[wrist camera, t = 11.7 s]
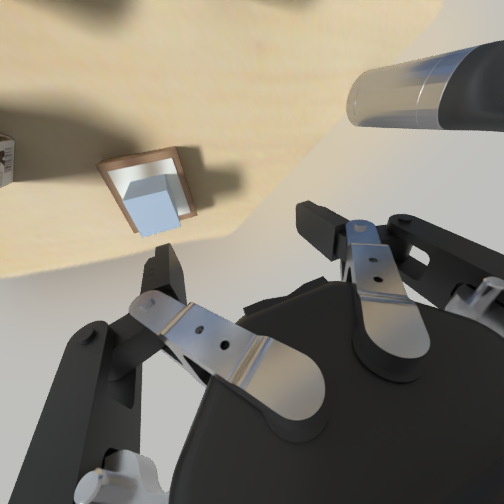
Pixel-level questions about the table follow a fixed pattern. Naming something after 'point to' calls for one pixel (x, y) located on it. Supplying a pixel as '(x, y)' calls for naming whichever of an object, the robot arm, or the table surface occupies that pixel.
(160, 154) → the base
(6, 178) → the coffee box
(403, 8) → the table surface
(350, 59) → the table surface
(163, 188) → the block
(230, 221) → the table surface
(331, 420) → the robot arm
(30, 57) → the table surface
